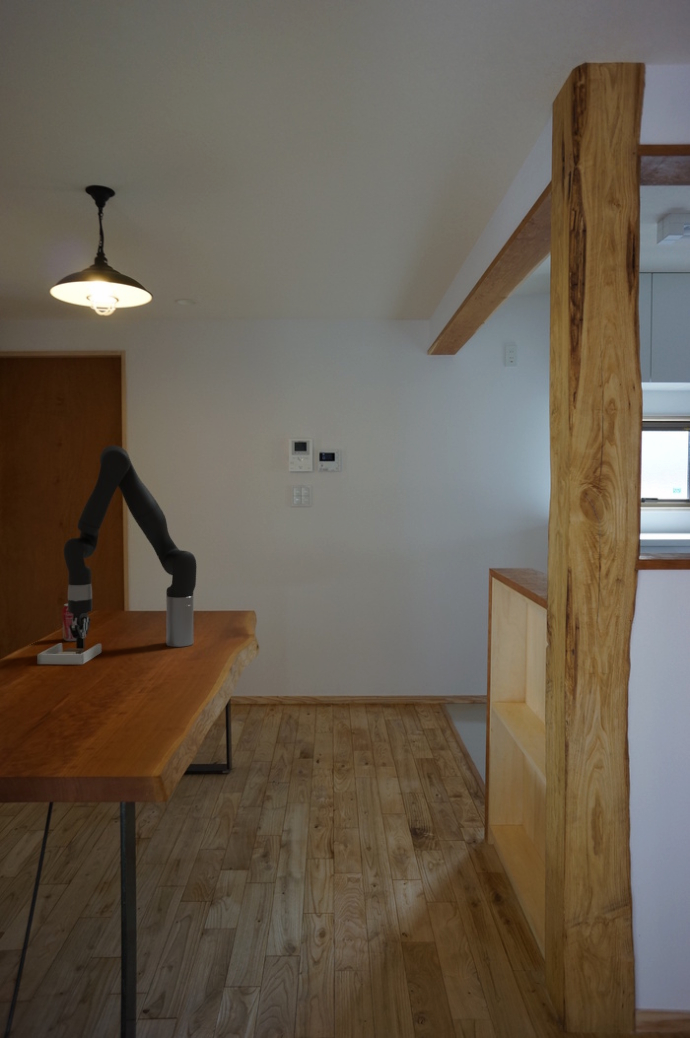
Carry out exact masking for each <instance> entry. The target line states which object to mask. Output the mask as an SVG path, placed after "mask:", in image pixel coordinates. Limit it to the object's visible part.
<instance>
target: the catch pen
mask: <svg viewBox="0 0 690 1038" xmlns="http://www.w3.org/2000/svg"><path fill="white" fill-rule="evenodd" d="M62 651H63V643H62V642H59V643H57V644H55V645H53V646H51V647H49V648H47V649H46V650H43V651H42V652H40V653H38V654H37V656H36V658H37V659H36V662H37V665H84V664H85V663H87V662H89V661H91V660H92V659H93V658H95V657H96V656H98V655H99V654H101V653H102V643H100V642H99V643H97V644H94V645H93V646H91V647H90V648H88V649H87V650H84V651H83V653H82V654H57V653H59V652H62Z"/></svg>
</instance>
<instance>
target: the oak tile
mask: <svg viewBox="0 0 690 1038" xmlns="http://www.w3.org/2000/svg"><path fill="white" fill-rule="evenodd" d="M57 654H76V652H59V653H57Z"/></svg>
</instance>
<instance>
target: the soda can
mask: <svg viewBox="0 0 690 1038" xmlns="http://www.w3.org/2000/svg"><path fill="white" fill-rule="evenodd" d="M72 619H73V613H69V612H68V603H65V604H63V608H62V638H63V640H64V641H66V642H76V639H75V638H73V636H72V633H71V630H70V628H69V626H70V625H73V623H72Z"/></svg>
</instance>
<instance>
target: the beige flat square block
mask: <svg viewBox="0 0 690 1038" xmlns="http://www.w3.org/2000/svg"><path fill="white" fill-rule="evenodd" d="M62 652H76V654H82V653H83V652H84V649H83V648H75V647H74V648H70V647H69V648H66V649H64V650H62Z"/></svg>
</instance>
